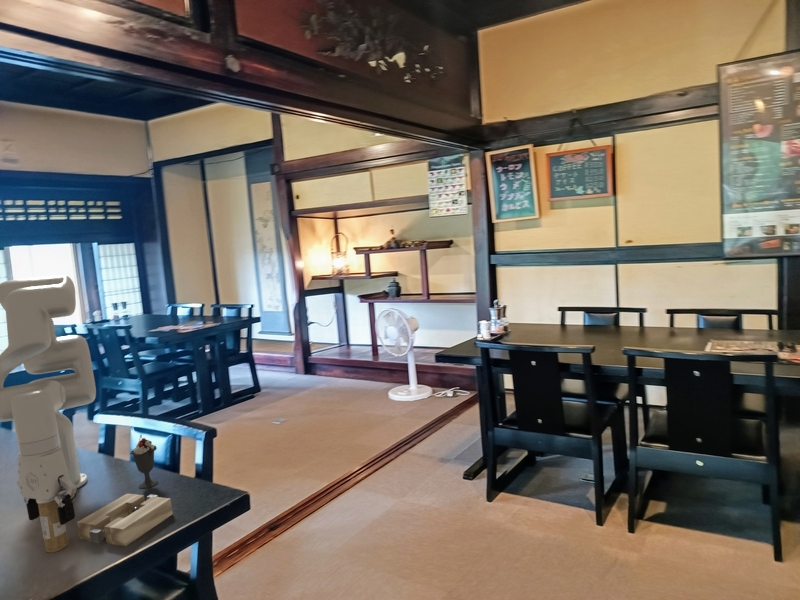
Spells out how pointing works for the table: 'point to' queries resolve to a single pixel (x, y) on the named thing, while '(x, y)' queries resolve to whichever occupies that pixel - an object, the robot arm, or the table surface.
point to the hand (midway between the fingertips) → (52, 519)
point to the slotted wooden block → (126, 518)
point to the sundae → (145, 461)
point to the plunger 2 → (140, 506)
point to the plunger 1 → (97, 535)
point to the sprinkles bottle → (52, 526)
